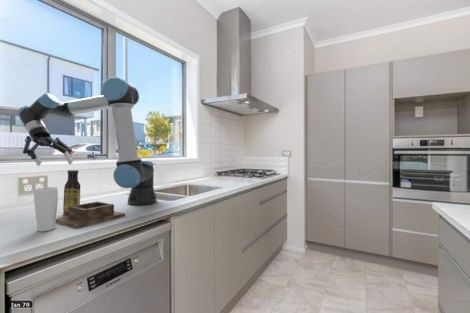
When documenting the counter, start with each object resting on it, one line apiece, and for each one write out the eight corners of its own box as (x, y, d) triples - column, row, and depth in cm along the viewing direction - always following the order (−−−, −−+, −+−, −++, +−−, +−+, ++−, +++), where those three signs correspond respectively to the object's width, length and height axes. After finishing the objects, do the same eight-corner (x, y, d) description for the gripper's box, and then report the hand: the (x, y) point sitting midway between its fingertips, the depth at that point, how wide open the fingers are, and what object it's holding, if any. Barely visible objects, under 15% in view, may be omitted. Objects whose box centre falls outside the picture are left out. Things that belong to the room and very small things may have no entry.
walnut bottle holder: (103, 211, 114) (103, 199, 114) (125, 216, 106) (125, 203, 106) (55, 222, 96) (55, 207, 96) (76, 228, 88) (76, 213, 88)
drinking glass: (62, 226, 90) (62, 187, 90) (49, 232, 84) (48, 190, 83) (44, 226, 90) (43, 187, 90) (29, 232, 83) (28, 190, 83)
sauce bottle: (60, 216, 105) (60, 170, 105) (66, 212, 111) (66, 169, 111) (77, 215, 107) (77, 170, 106) (82, 211, 113) (82, 169, 112)
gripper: (61, 138, 131) (79, 167, 125) (2, 135, 108) (20, 170, 103) (68, 128, 129) (85, 157, 123) (9, 123, 106) (27, 158, 100)
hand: (56, 163), depth 113 cm, fingers open, 13 cm apart
